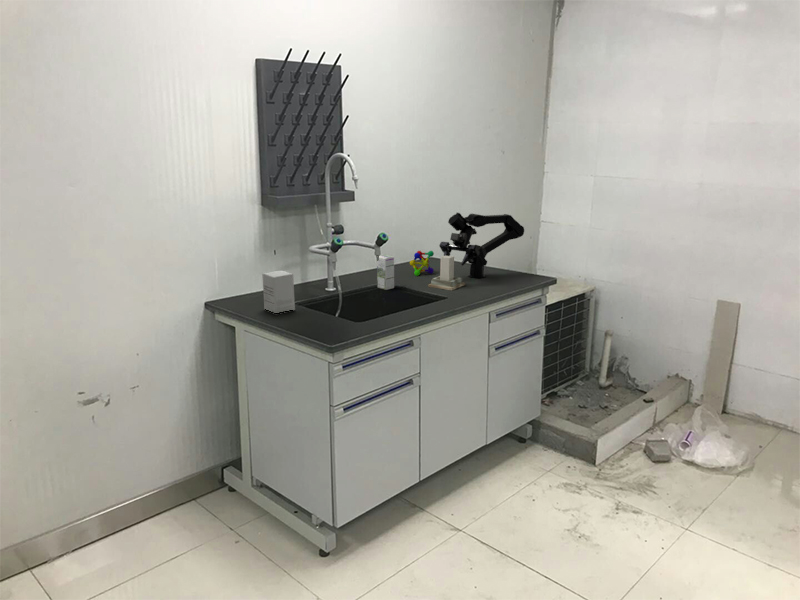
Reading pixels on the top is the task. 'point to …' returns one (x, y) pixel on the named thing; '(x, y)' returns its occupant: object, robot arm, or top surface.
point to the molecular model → (424, 262)
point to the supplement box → (278, 291)
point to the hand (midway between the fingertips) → (453, 263)
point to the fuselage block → (447, 268)
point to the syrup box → (385, 272)
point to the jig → (446, 283)
